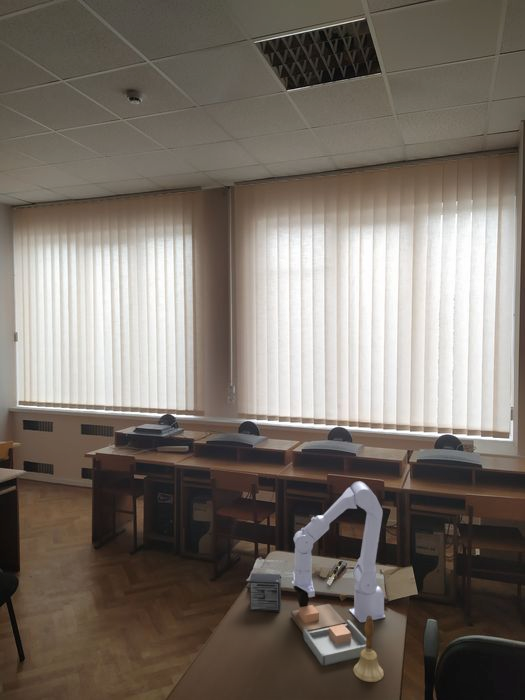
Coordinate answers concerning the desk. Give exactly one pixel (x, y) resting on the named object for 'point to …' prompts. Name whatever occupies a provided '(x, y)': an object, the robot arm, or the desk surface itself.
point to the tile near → (339, 634)
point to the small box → (265, 592)
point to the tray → (335, 645)
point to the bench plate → (326, 619)
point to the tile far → (308, 613)
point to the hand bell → (368, 658)
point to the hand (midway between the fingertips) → (303, 607)
